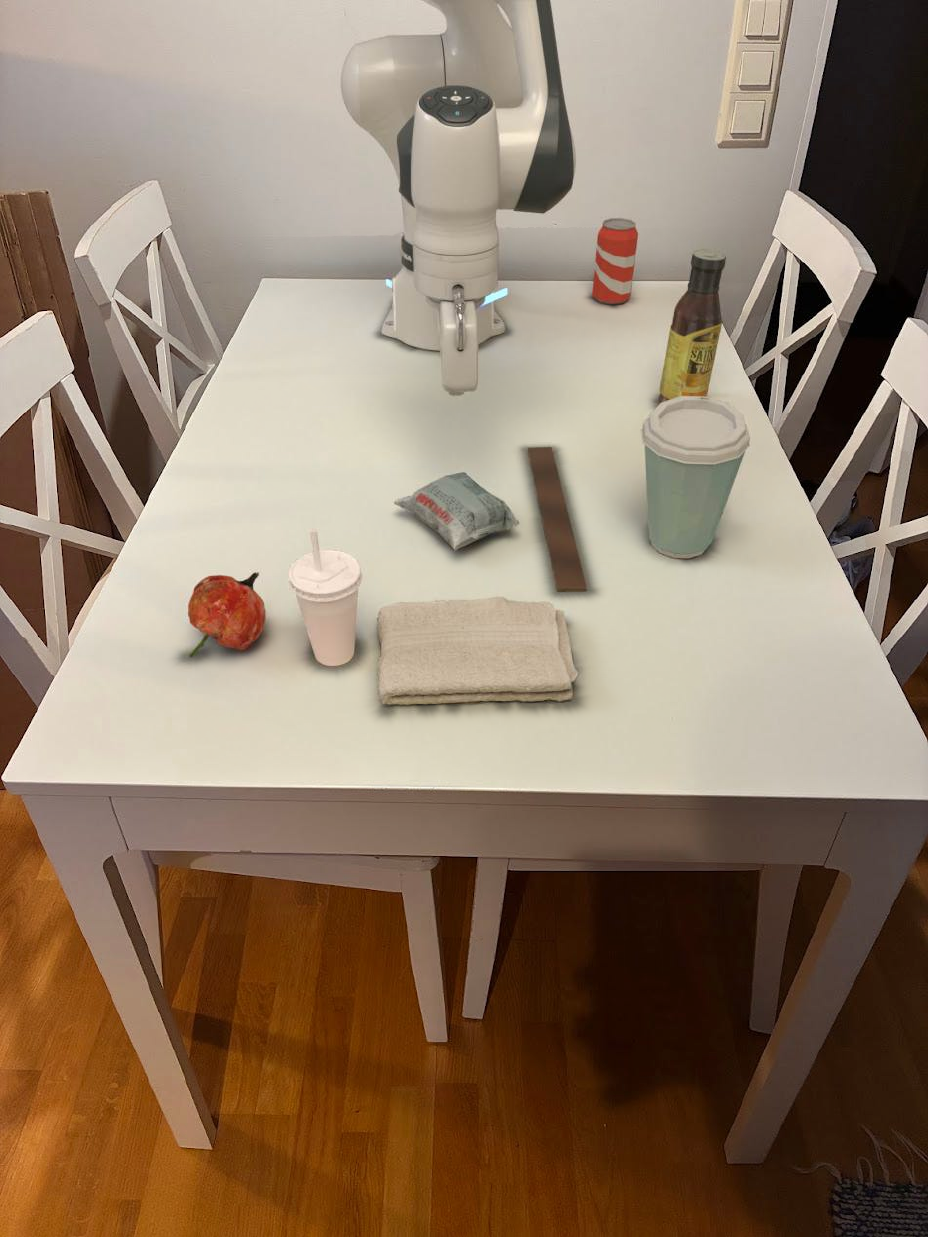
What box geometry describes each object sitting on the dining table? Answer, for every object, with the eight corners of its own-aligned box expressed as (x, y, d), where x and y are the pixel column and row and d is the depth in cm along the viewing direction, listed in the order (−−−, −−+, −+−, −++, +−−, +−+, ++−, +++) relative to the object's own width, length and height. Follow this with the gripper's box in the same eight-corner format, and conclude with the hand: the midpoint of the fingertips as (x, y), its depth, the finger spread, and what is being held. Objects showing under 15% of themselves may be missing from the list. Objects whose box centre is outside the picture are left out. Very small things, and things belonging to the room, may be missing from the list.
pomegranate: (226, 693, 86) (299, 616, 85) (163, 657, 81) (239, 575, 80) (209, 651, 92) (278, 578, 91) (149, 614, 87) (221, 537, 86)
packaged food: (454, 567, 97) (455, 528, 94) (393, 516, 104) (392, 478, 101) (520, 540, 101) (522, 502, 98) (456, 492, 108) (457, 455, 105)
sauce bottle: (684, 421, 121) (711, 268, 109) (647, 404, 125) (669, 253, 112) (715, 405, 125) (745, 255, 112) (678, 389, 128) (703, 242, 115)
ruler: (527, 450, 116) (527, 447, 115) (551, 450, 116) (551, 446, 115) (556, 591, 94) (557, 588, 94) (586, 590, 94) (586, 587, 94)
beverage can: (620, 309, 150) (629, 232, 142) (585, 300, 152) (591, 224, 144) (636, 297, 153) (646, 221, 146) (601, 289, 156) (609, 214, 148)
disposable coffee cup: (718, 580, 96) (747, 452, 86) (615, 558, 99) (632, 432, 89) (732, 525, 103) (760, 402, 94) (637, 506, 106) (654, 384, 96)
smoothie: (292, 640, 88) (273, 517, 79) (356, 623, 90) (345, 501, 81) (311, 684, 84) (293, 559, 75) (378, 665, 86) (368, 541, 77)
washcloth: (581, 704, 82) (584, 678, 80) (377, 713, 81) (375, 687, 79) (561, 617, 91) (563, 592, 89) (377, 624, 90) (375, 599, 88)
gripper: (494, 309, 89) (490, 436, 98) (479, 233, 104) (477, 349, 113) (428, 310, 89) (430, 437, 98) (423, 234, 104) (425, 350, 113)
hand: (455, 389), depth 106 cm, fingers closed
